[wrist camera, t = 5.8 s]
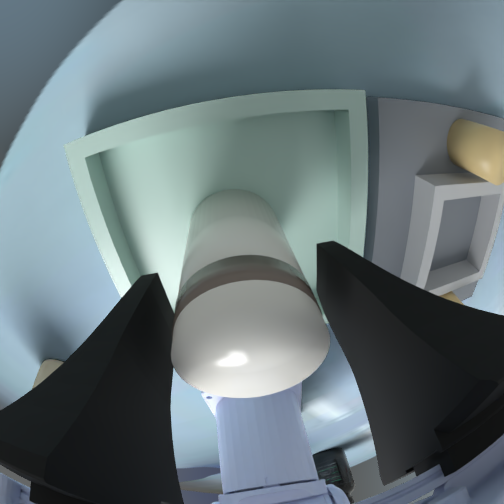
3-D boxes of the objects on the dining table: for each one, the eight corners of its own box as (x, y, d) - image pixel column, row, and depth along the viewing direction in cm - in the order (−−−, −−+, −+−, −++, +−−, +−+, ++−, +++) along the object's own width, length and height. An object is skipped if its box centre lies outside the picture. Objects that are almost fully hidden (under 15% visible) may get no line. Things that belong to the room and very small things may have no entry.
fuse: (283, 258, 13) (329, 380, 8) (202, 276, 13) (201, 405, 8) (270, 179, 11) (331, 279, 5) (177, 201, 11) (140, 320, 5)
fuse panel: (465, 289, 19) (490, 317, 15) (353, 329, 18) (375, 372, 15) (499, 117, 11) (542, 132, 7) (366, 96, 10) (421, 102, 7)
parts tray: (342, 294, 16) (355, 316, 14) (156, 328, 16) (152, 353, 14) (343, 90, 10) (365, 90, 8) (84, 136, 10) (63, 145, 8)
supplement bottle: (342, 452, 39) (358, 502, 29) (307, 462, 39) (321, 513, 29) (344, 443, 36) (362, 501, 25) (305, 455, 36) (319, 514, 26)
